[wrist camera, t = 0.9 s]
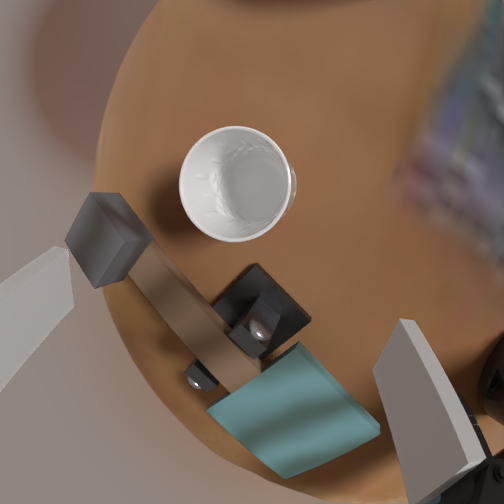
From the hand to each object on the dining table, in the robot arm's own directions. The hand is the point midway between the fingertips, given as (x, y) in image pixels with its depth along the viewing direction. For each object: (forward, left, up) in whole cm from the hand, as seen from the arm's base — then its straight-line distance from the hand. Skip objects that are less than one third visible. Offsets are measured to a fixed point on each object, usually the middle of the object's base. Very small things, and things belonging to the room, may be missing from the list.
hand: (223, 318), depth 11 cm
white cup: (+5, -2, -20) cm, 21 cm away
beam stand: (-4, +10, -20) cm, 23 cm away
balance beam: (-2, +10, -14) cm, 17 cm away
